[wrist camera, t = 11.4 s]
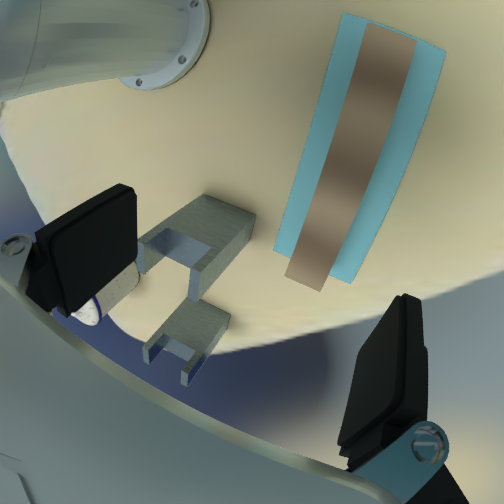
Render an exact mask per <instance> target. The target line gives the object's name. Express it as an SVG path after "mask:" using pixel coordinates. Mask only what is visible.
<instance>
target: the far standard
mask: <svg viewBox="0 0 504 504" xmlns="http://www.w3.org/2000/svg"><path fill="white" fill-rule="evenodd" d="M230 315H231V314H229V313H227V312H225V311H223V310H221V309H219V308H217V307H215V306H213V305H211V304H209V303H207V302H205V301H203V300H201V299H199V300H198V301H197V302H195V301H193V300H191V299H189V298H188V297H187V298H186V299H185V300H184V301H183V302H182V303H181V304H180V305H179V307H178V308H177V309H176V310H175V311H174V312H173V313H172V314H171V315H170V317H169V318H168V319H167V320H166V321H165V322H164V323H163V324H162V325H161V327H160V328H159V329H158V330H157V331H156V332H155V333H154V334H153V335H152V337H151V338H150V339H149V340H148V341H147V342H146V343H145V344H144V346H143V347H142V349H143V358H144V362H146V363H147V364H149V365H150V364H151V362H152V361H153V360H154V359H155V358H156V357H157V355H158V354H159V353H160V352H161V350H162V349H163V348H165V349H167V350H168V351H170V352H172V353H174V354H175V355H177V356H179V357H181V358H182V359H184V360H186V361H188V362H187V364H186V365H185V366H184V368H183V369H182V371H181V384H182V385H185V386H186V387H187V386H188V385H189V383H190V382H191V381H192V379H193V378H194V376H195V375H196V373H197V372H198V371H199V369H200V368H201V366H202V365H203V363H204V362H205V360H206V359H207V358H208V356H209V355H210V353H211V352H212V350H213V349H214V347H215V346H216V344H217V343H218V342H219V340H220V339H221V337H222V336H223V334H224V333H225V331H226V330H227V327H228V323H229V319H230Z"/></svg>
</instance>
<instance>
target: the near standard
mask: <svg viewBox="0 0 504 504" xmlns="http://www.w3.org/2000/svg"><path fill="white" fill-rule="evenodd" d="M255 217H256V215H254V214H252V213H249V212H247V211H244V210H242V209H239V208H237V207H234V206H232V205H229V204H227V203H224V202H222V201H219V200H217V199H214V198H212V197H209V196H206V195H204V194H202V195H201V196H199V197H198V198H196V199H195V200H193V201H192V202H190V203H189V204H187V205H186V206H184V207H183V208H181V209H180V210H178V211H177V212H176V213H174V214H173V215H171V216H170V217H168V218H167V219H165V220H164V221H163V222H161V223H160V224H158V225H157V226H155V227H154V228H153V229H151V230H150V231H148V232H147V233H146V234H144V235H143V236H141V237H140V238H139V239H138V255H137V258H136V264H137V271H139V272H141V273H143V274H145V273H146V272H148V271H149V270H150V269H151V268H152V267H153V266H154V265H156V264H157V263H158V262H159V261H160V260H161V259H163V258H164V257H165V256H167V257H169V258H171V259H173V260H175V261H177V262H179V263H181V264H183V265H185V266H187V267H189V268H191V271H190V280H189V289H188V298H189V299H191V300H193V301H195V302H197V301H198V300H199V299H200V298H201V297H202V296H203V294H204V293H205V292H206V291H207V290H208V289H209V287H210V286H211V285H212V284H213V283H214V282H215V280H216V279H217V278H218V277H219V276H220V275H221V273H222V272H223V271H224V270H225V269H226V268H227V266H228V265H229V264H230V263H231V262H232V261H233V259H234V258H235V257H236V256H237V255H238V254H239V253H240V251H241V250H242V249H243V248H244V247H245V246H246V244H247V243H248V242H249V241H250V237H251V233H252V229H253V225H254V221H255Z"/></svg>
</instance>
